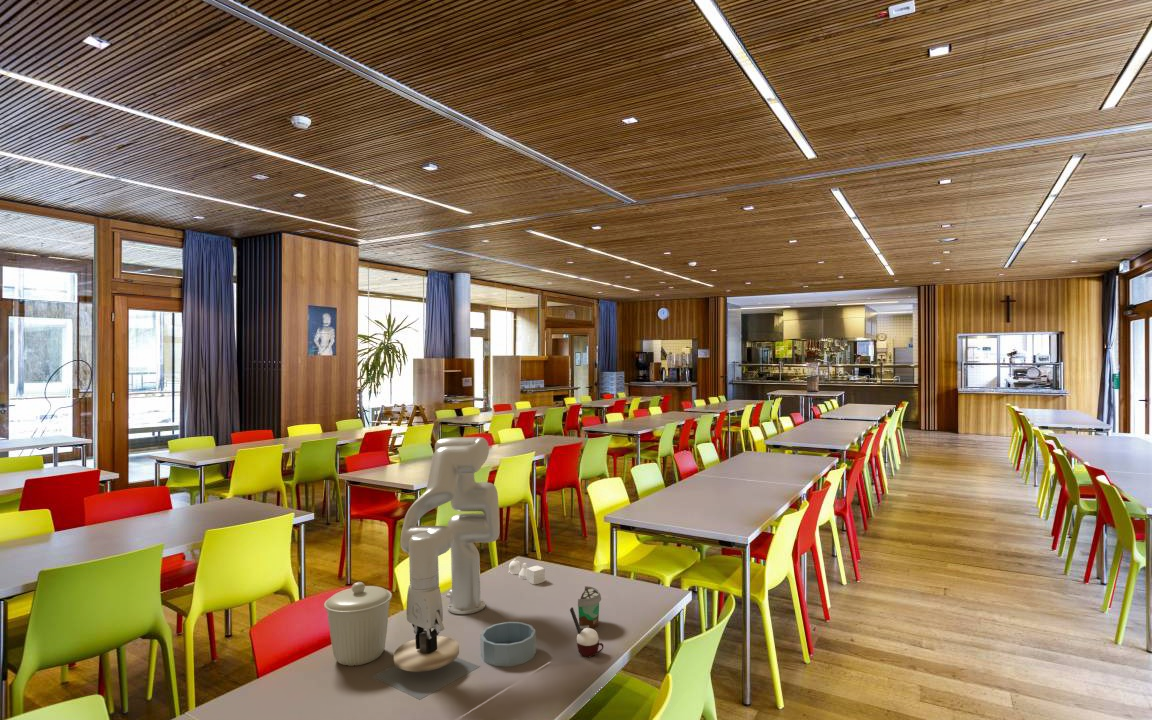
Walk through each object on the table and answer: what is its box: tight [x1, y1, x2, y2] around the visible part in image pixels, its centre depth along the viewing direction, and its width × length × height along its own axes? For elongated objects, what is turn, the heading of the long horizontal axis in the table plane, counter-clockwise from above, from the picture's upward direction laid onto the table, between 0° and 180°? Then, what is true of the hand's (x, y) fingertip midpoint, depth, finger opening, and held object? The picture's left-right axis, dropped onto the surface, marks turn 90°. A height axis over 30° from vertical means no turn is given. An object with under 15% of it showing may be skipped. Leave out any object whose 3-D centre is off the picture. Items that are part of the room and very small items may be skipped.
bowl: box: [479, 621, 537, 667], centre depth 170 cm, size 15×15×6 cm
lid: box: [393, 630, 460, 672], centre depth 162 cm, size 17×17×6 cm
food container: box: [577, 585, 602, 631], centre depth 189 cm, size 12×6×10 cm, turn 168°
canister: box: [323, 581, 393, 667], centre depth 171 cm, size 18×18×21 cm
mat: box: [371, 657, 481, 701], centre depth 161 cm, size 20×20×1 cm
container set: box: [508, 558, 546, 585], centre depth 235 cm, size 20×5×6 cm, turn 37°
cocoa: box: [569, 607, 605, 658], centre depth 170 cm, size 10×6×12 cm, turn 46°
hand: (426, 648), depth 162 cm, fingers closed on lid, 3 cm apart
